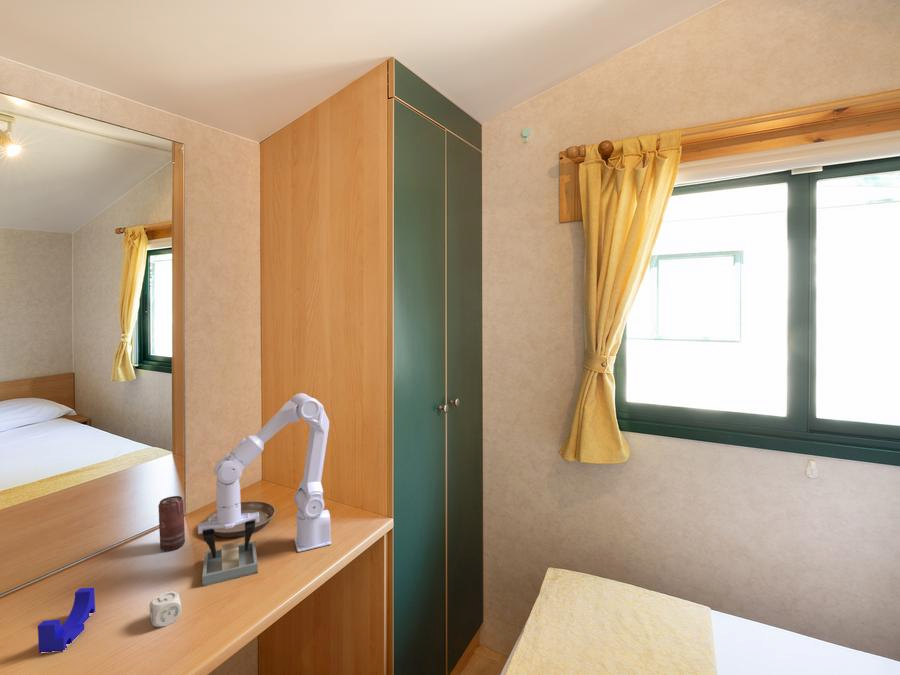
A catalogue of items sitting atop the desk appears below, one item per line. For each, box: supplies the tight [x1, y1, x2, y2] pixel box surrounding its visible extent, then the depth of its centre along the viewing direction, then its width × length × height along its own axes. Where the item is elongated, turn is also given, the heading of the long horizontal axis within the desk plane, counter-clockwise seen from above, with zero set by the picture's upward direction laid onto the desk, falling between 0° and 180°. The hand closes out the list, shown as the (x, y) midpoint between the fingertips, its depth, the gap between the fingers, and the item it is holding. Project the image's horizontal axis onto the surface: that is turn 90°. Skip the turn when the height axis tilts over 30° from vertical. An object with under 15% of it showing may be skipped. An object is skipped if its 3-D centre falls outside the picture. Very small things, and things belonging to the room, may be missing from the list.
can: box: [158, 495, 186, 552], centre depth 128 cm, size 6×6×14 cm
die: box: [148, 590, 182, 628], centre depth 98 cm, size 5×5×5 cm
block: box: [221, 541, 239, 570], centre depth 118 cm, size 4×4×5 cm
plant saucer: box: [203, 500, 276, 538], centre depth 142 cm, size 21×21×3 cm
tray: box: [201, 540, 259, 587], centre depth 118 cm, size 13×13×2 cm
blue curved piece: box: [37, 587, 96, 653], centre depth 94 cm, size 12×4×6 cm, turn 8°
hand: (230, 552), depth 118 cm, fingers open, 7 cm apart
